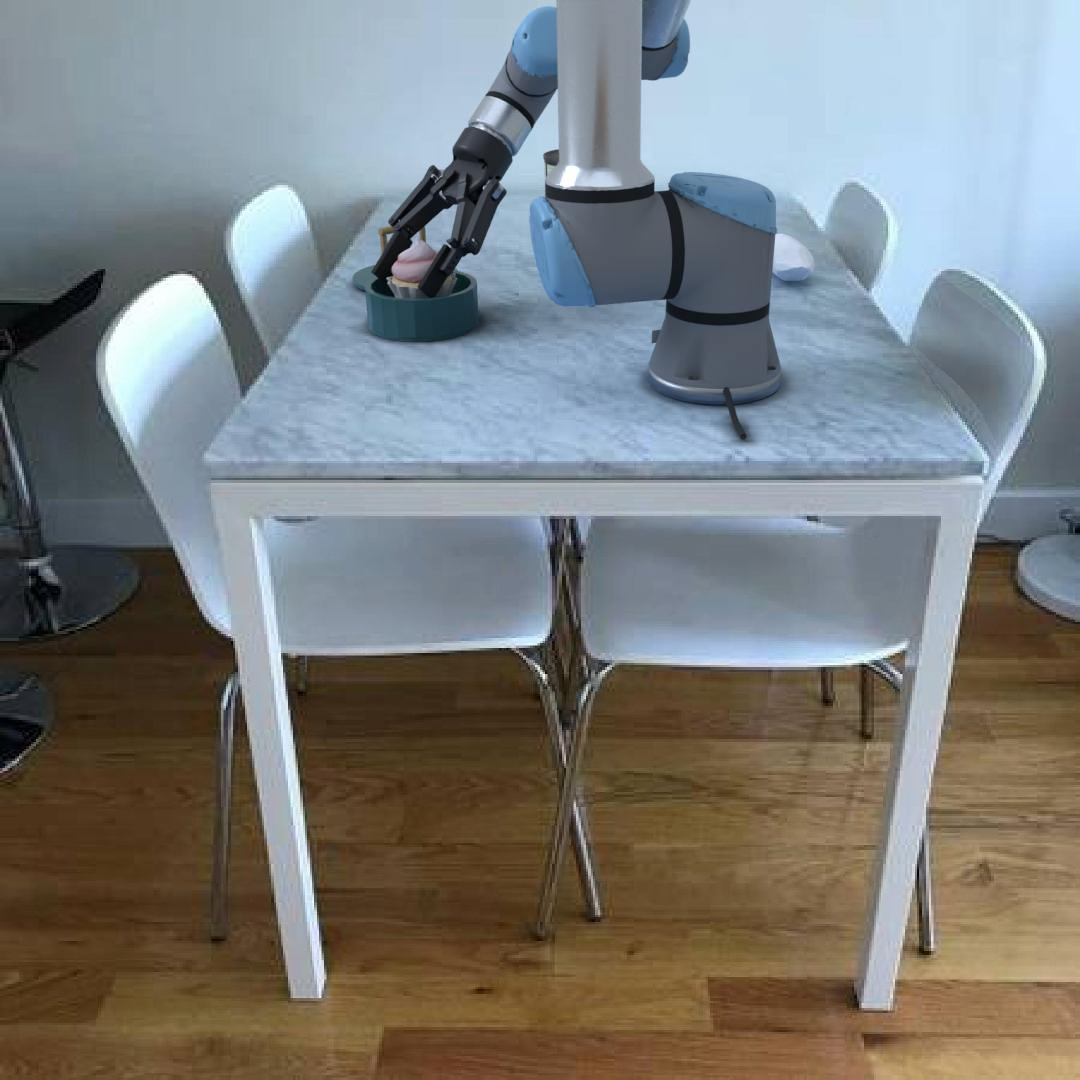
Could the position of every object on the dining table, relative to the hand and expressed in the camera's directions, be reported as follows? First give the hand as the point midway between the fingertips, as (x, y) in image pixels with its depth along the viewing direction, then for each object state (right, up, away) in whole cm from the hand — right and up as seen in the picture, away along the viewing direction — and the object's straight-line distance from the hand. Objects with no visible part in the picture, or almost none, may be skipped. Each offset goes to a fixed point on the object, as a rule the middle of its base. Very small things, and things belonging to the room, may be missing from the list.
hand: (401, 285), depth 159 cm
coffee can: (+24, +15, +41) cm, 50 cm away
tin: (+2, -4, +5) cm, 7 cm away
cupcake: (+2, -3, +4) cm, 6 cm away
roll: (+54, +5, +20) cm, 58 cm away
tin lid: (-2, +6, +22) cm, 23 cm away
